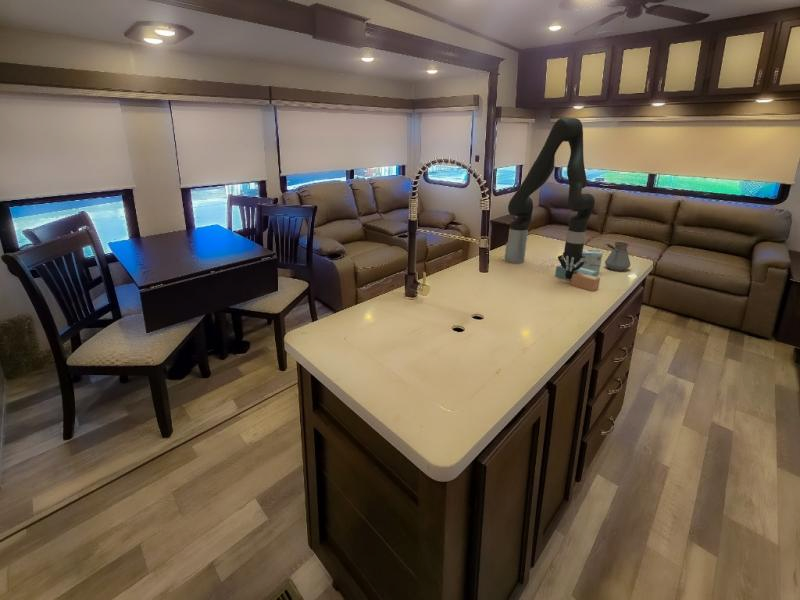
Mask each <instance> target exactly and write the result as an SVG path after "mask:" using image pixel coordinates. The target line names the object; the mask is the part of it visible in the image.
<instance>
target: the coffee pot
mask: <svg viewBox="0 0 800 600" xmlns="http://www.w3.org/2000/svg"><path fill="white" fill-rule="evenodd" d="M606 246H607V248H610V249H611V250H612V251H611V252H610V254H609V255H607V256H608V257H607V258H606V259H605V261H604V264H605V266H606V267H607V269H608V270H611V271H618V272H624V271H625V270H627V269H629V268H630V267H631V261H630V257H629V252H628V246H630V244H629V243H628V242H627V243H626V242H621V241H618V242H617V241H615V242H614V246H613V245H611V244H609V243H606V244H604V245H603V247H606Z"/></svg>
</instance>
